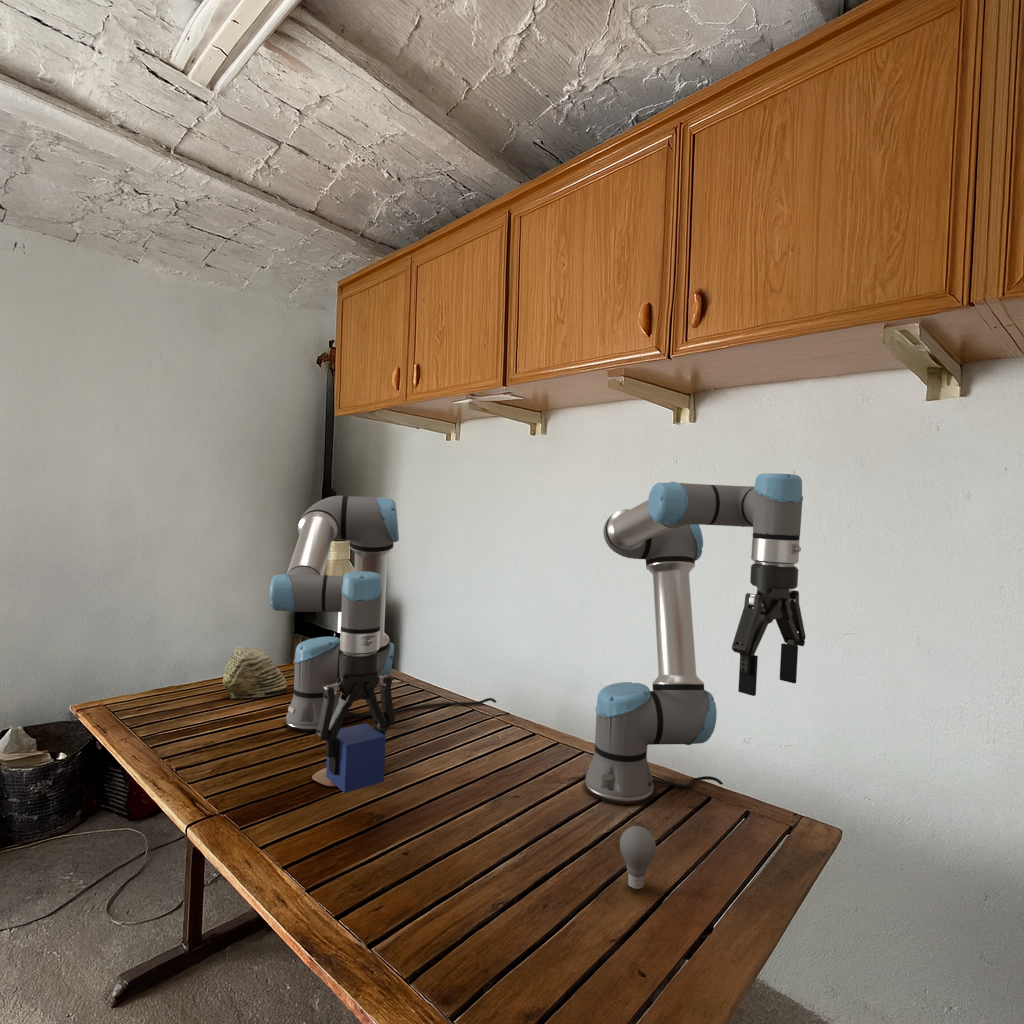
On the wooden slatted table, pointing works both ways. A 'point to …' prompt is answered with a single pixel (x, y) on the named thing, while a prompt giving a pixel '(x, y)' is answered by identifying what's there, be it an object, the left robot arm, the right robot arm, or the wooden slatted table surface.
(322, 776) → the anatomical model
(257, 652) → the fossil
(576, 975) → the wooden slatted table surface
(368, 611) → the left robot arm
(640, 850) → the light bulb
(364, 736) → the block
